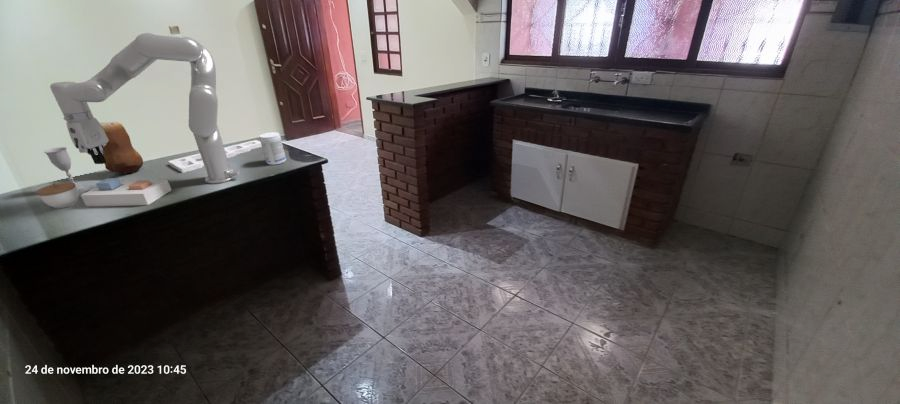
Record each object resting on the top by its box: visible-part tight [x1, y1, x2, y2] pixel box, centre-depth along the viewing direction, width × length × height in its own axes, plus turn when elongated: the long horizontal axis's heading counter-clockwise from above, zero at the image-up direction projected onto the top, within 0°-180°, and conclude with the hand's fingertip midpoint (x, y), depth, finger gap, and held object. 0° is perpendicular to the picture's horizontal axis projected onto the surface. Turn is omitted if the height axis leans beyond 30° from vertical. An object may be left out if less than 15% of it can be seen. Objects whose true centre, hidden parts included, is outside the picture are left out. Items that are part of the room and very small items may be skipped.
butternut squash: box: [99, 121, 144, 175], centre depth 166 cm, size 14×13×25 cm
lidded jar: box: [36, 181, 80, 209], centre depth 139 cm, size 11×11×9 cm
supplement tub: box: [259, 131, 287, 166], centre depth 180 cm, size 10×10×15 cm
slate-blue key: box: [95, 177, 122, 190], centre depth 143 cm, size 5×5×3 cm
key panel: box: [80, 179, 172, 207], centre depth 145 cm, size 24×14×5 cm, turn 92°
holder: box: [168, 139, 262, 174], centre depth 191 cm, size 45×18×3 cm, turn 142°
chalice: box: [43, 146, 85, 191], centre depth 151 cm, size 7×7×18 cm
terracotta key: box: [129, 181, 152, 190], centre depth 144 cm, size 5×5×3 cm
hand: (100, 163), depth 139 cm, fingers closed
